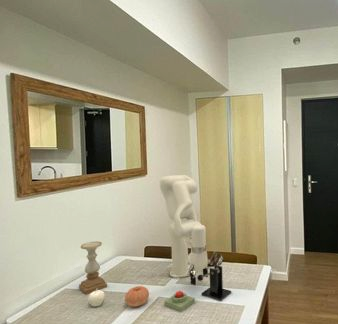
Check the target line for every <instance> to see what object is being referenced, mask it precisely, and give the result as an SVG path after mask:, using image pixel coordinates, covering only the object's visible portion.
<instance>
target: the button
mask: <svg viewBox="0 0 338 324" xmlns="http://www.w3.org/2000/svg"><path fill="white" fill-rule="evenodd" d="M183 293H184V291H182V290H179V291H175V293H174V294H175V295H176V298H182V297H183Z"/></svg>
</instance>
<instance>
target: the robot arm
mask: <svg viewBox="0 0 338 324" xmlns="http://www.w3.org/2000/svg"><path fill="white" fill-rule="evenodd" d="M159 189H160V192H161V194H162V196H163V198H164V200H165V205H166V210H167V214H168V217H169V219H170V220H172V221H173V222H172V223H170V225H169V226H168V227H169V230H168V231H169V236H170V242H171V243H170V244H171V245H170V247H171V263H170V264H169V265H168V269H170V271H169V276H170V277H171V278H174V279H175V278H176V279H180V278H185V277H190V278H189V279H190V284H191V285H193V286H196V285H197V277H196V275H197V273H200V272H201V271H202V275H205V274H208V273H209V269H210V268H209V267H210V266H211V265H210V264H209V263H210V259H211V258H210V259H209V258H208V252H207V228H206V226H205V225H203V224H201V222H200V221H198V218H197V214H196V210H195V207H194V205H193V200H192V197H191V194H192V195H193V194H196V193H197V191H198V185H197V183H196V181H195V180H194V179H193V178H192V177H190V176H189V175H187V174H176V175H175V174H174V175H172V174H171V175H166V176H165V175H164V176H162V178H160V180H159ZM183 219H184V220H183ZM189 237H191V238H192V239H191V240H192V253H191V252H190V253H191V255H190V263H188V255H189V248H188V247H189V244H188V242H187V240H186V239H187V238H189ZM209 265H210V266H209ZM205 278H209V275H208V276H206V277H205Z"/></svg>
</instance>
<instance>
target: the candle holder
mask: <svg viewBox="0 0 338 324" xmlns="http://www.w3.org/2000/svg"><path fill="white" fill-rule="evenodd" d="M102 245H103V242H102V241H98V240H96V241H89V242H88V241H87V242H85V243H82V244H81V245H80V248H81V249H82V250H86V251H87V255H86V256H85V257H86V259H87V260H88V262H87V263H86V265H85V267H84V273H86V275H85V277H86V279H84V280H82V281H81V282H80V283H79V285H78V289H79V290H80V291H81V292H82V293H83V294H84V295H89V294H91V293H92V292H93V291H96V289H97V288H98V289H97V290H102V289H105V288H107V287H108V283H107V282H106V281H105V280H104V279H103V277H101V276H100V273H99V270H100V268H101V265H100V263H98V261H97V260H96V259H97V256H98V254H97V252H96V250H98V248H100V247H101V246H102Z"/></svg>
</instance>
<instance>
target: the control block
mask: <svg viewBox="0 0 338 324" xmlns="http://www.w3.org/2000/svg"><path fill="white" fill-rule="evenodd" d="M195 299H196V298H195V297H192V296H189V295H187V293H186V292H183V297H182V298H176V295H175V293H174V294H172V295H171V296H170V297H169V298H167V299H165V300H164V301H163V303H164V305H163V306H165V307H168V308H170V309H174V310H176V311H178V312H183V311H185V310H186V309H188V308H189V307H190V306H192V305H193V304H195V301H196V300H195Z"/></svg>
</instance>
